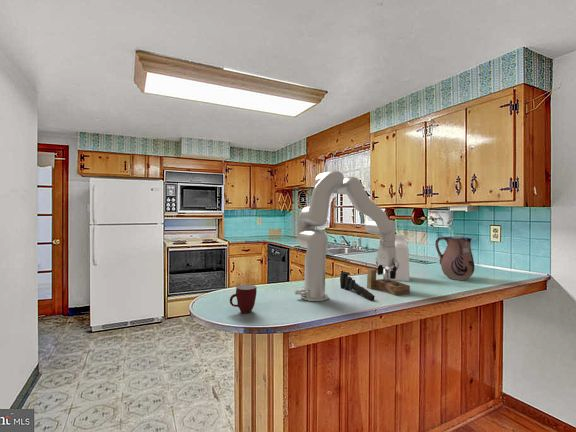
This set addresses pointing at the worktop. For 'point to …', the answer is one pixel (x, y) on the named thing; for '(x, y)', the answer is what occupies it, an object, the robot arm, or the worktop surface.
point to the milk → (401, 259)
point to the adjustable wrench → (354, 286)
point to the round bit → (386, 275)
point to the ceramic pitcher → (456, 258)
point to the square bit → (371, 278)
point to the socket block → (393, 287)
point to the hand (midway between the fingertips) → (386, 276)
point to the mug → (245, 297)
